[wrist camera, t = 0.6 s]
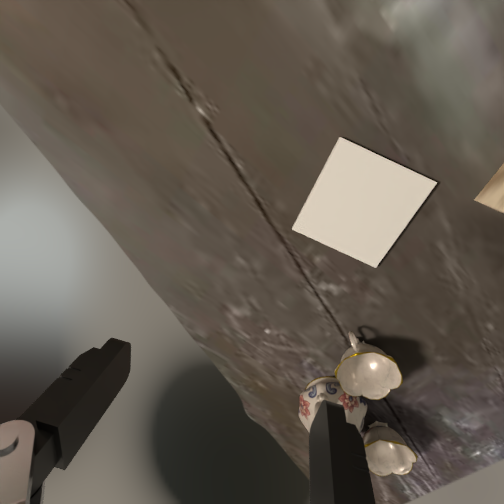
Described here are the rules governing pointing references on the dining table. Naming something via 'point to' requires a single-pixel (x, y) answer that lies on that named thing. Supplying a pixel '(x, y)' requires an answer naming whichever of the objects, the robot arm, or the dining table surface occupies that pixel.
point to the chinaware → (363, 403)
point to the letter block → (494, 192)
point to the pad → (361, 202)
